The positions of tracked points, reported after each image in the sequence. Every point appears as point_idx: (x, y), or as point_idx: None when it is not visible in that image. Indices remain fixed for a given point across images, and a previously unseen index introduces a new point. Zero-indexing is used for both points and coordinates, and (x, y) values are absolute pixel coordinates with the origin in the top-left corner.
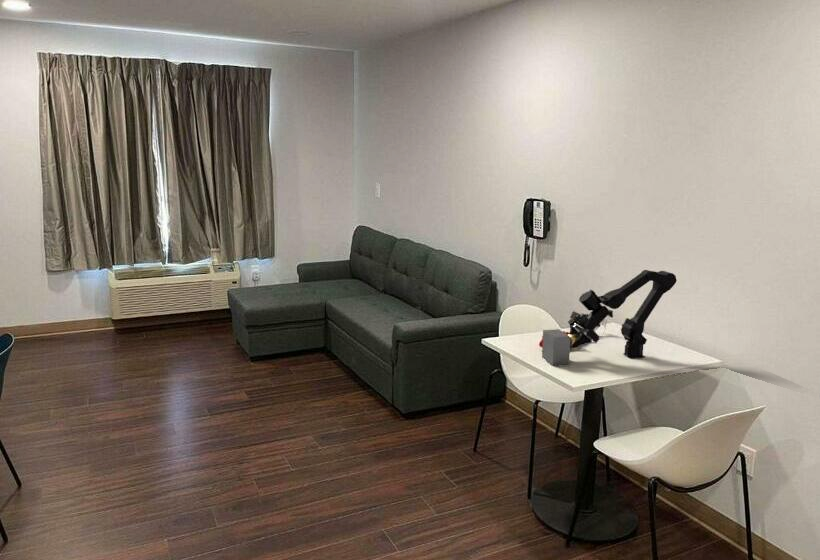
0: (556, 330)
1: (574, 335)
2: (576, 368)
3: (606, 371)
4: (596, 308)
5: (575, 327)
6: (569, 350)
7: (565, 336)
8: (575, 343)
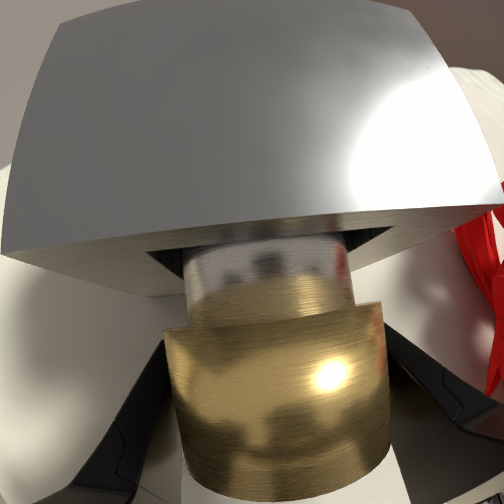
0: (441, 130)
1: (258, 441)
2: (81, 322)
3: (41, 463)
4: None
5: (501, 492)
6: (107, 285)
7: (17, 162)
8: (137, 385)
